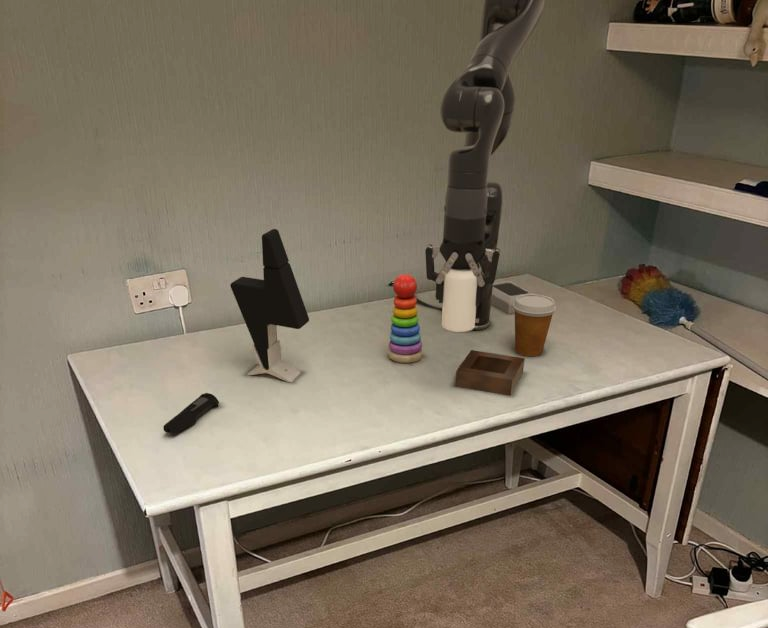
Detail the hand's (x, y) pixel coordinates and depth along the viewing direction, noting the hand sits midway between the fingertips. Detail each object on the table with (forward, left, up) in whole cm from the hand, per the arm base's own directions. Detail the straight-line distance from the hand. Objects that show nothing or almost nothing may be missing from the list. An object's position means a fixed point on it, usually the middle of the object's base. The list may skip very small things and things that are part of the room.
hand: (459, 302), depth 148 cm
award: (-35, -17, -20) cm, 44 cm away
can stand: (+1, +12, -20) cm, 23 cm away
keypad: (-23, +56, -20) cm, 63 cm away
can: (0, 0, -5) cm, 5 cm away
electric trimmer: (-31, -42, -20) cm, 56 cm away
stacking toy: (-20, +9, -20) cm, 29 cm away
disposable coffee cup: (-1, +31, -20) cm, 36 cm away
